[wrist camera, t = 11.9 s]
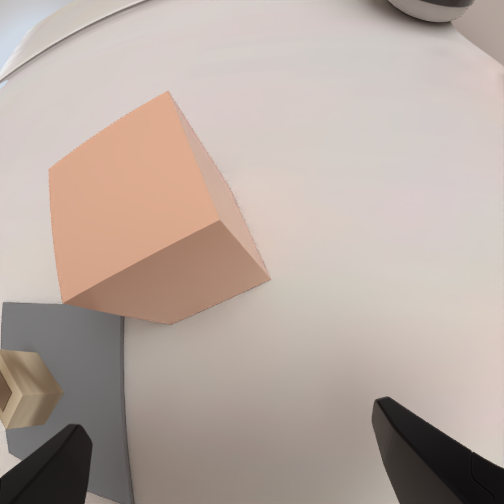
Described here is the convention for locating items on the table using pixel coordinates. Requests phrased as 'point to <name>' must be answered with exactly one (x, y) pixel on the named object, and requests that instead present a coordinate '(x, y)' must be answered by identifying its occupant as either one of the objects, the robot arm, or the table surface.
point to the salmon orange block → (148, 221)
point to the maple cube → (26, 389)
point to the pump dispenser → (433, 8)
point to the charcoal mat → (77, 385)
